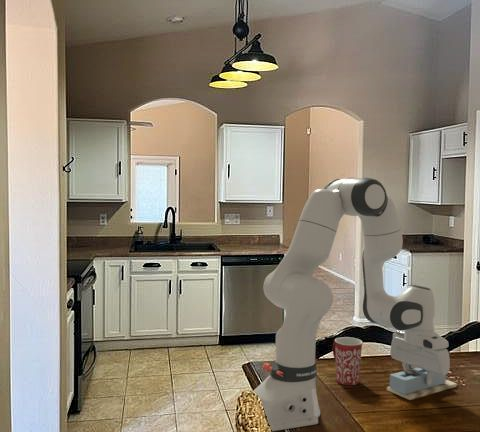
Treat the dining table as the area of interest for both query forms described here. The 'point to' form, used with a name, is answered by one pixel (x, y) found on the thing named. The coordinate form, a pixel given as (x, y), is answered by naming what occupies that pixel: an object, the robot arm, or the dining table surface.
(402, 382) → the two-hole block
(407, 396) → the boss board
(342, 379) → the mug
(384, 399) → the dining table surface
